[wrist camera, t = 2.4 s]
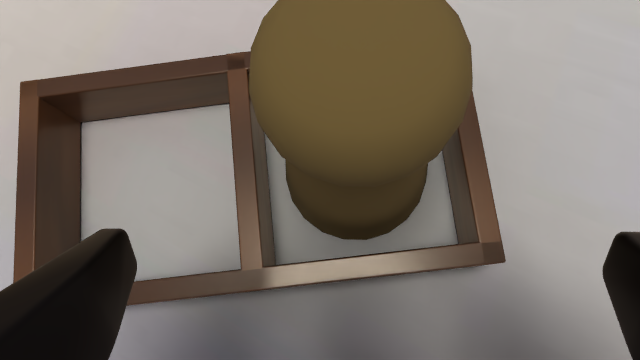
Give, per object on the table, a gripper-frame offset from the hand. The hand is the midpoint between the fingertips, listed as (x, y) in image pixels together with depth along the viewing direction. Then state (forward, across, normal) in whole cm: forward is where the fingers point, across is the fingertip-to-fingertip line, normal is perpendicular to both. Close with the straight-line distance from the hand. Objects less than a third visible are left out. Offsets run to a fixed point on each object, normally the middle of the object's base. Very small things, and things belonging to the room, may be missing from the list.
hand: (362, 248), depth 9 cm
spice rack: (+10, +4, +5) cm, 12 cm away
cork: (+11, 0, +5) cm, 12 cm away
